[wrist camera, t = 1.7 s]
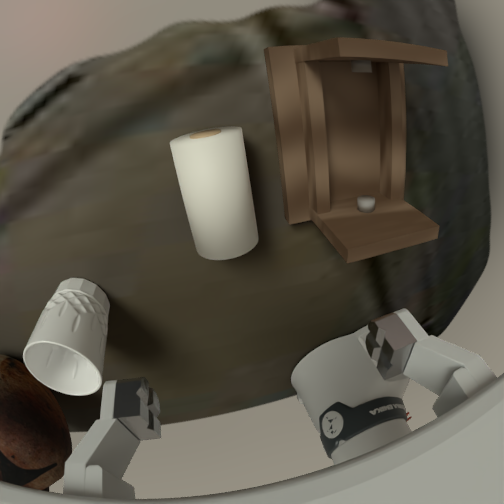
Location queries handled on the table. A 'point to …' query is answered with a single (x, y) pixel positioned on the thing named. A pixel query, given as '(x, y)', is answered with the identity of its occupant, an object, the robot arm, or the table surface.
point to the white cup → (70, 339)
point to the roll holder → (347, 141)
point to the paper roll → (216, 191)
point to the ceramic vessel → (30, 429)
